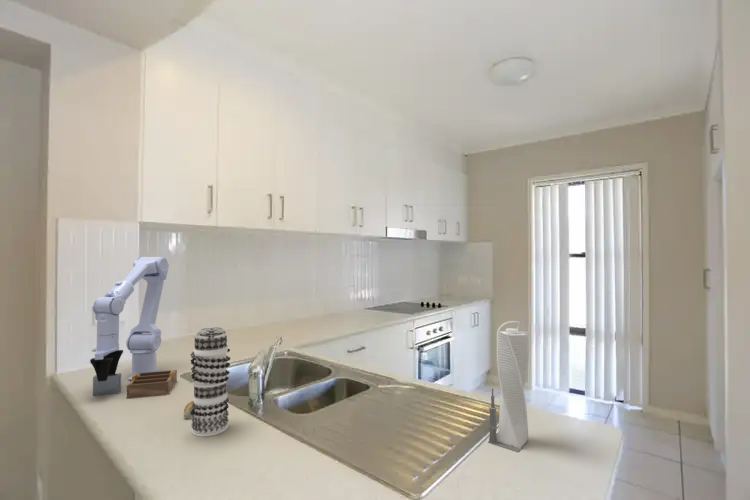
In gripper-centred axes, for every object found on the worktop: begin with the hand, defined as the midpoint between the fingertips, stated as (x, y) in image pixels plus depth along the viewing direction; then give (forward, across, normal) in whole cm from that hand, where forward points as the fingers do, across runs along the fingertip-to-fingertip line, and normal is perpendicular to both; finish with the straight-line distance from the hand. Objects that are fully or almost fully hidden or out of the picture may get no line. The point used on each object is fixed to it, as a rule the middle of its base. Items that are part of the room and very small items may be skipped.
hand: (107, 377), depth 119 cm
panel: (+5, 0, 0) cm, 5 cm away
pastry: (+6, +25, +30) cm, 39 cm away
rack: (+5, 0, +13) cm, 14 cm away
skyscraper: (+6, +66, +102) cm, 122 cm away
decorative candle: (+6, +37, +34) cm, 50 cm away
